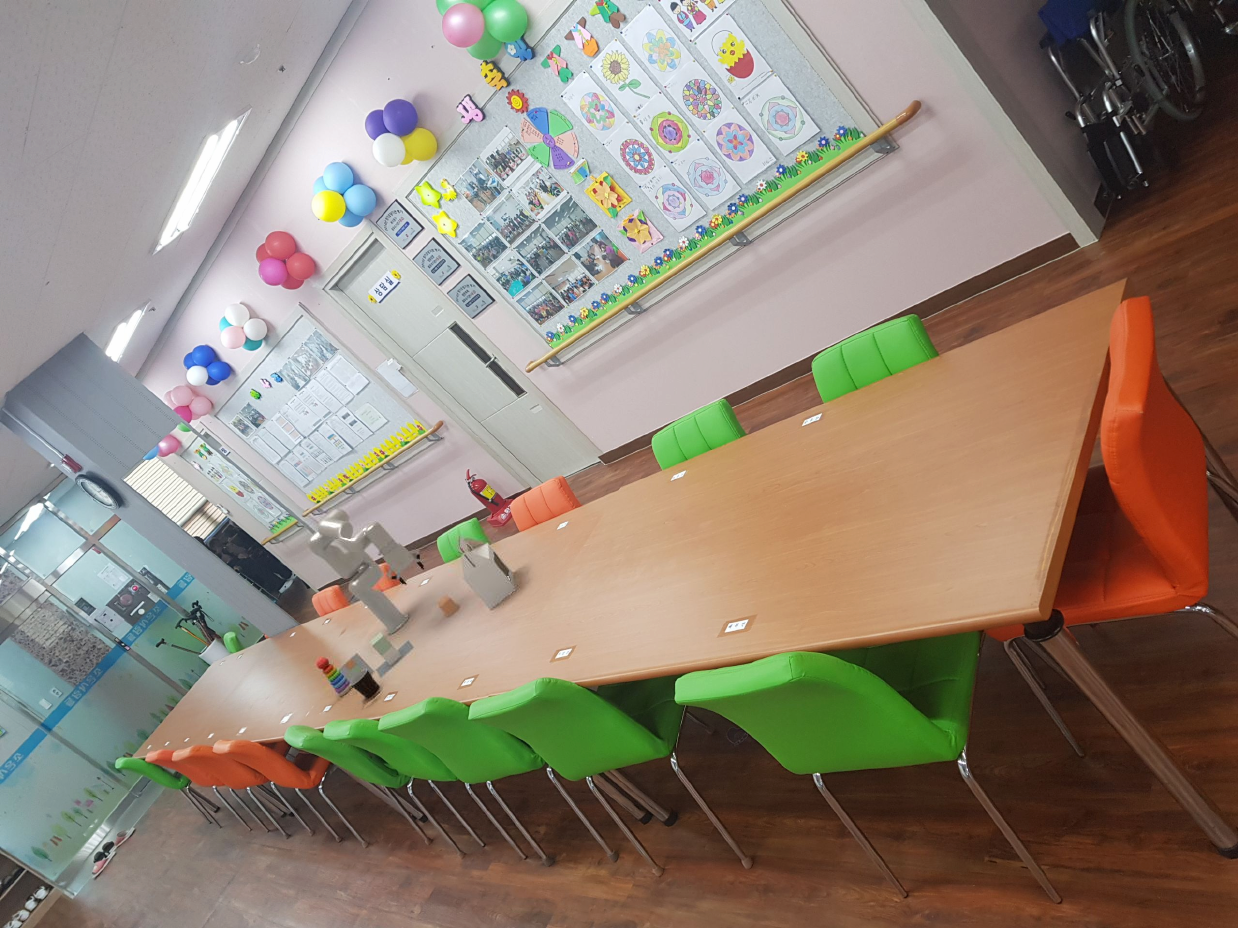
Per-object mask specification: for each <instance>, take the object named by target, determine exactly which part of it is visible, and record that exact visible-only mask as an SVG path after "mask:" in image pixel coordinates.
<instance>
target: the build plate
mask: <svg viewBox="0 0 1238 928" xmlns="http://www.w3.org/2000/svg"><path fill="white" fill-rule="evenodd" d="M414 648H415V646H413V644H412V643H411V642H410V640H407V641H406V642H405V643H403V645H401V646H400V647H399V649H397V650H398V651H399V653H400V654H401V655H402V656H401V657H400V658H399V659H398V660H397V661H396V662H395V663H393V664H392V665H391V666H390V665H389V664H388V662H387V661H386V660H385V661H384V662H383V663H382V664H381V665H379V666H378V667H377V668H376V669H375V671H376V672H377V674H378V677H379V678H380V679H381V678H383V676H384V675H385V674H387V673H388V672H389V671H390V670H391V669H392V668H394V666H396V665H397V664H398V663H399V662H400V661H401V660H402V659H403V658H404V657H406V656H407V654H409V653H410V652H411V651H412V650H413V649H414Z"/></svg>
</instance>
